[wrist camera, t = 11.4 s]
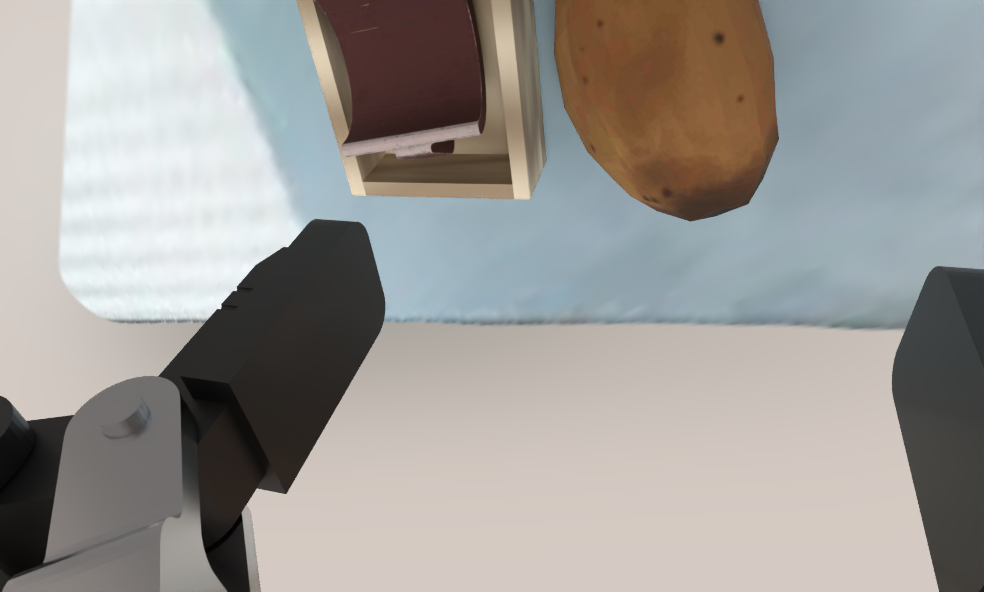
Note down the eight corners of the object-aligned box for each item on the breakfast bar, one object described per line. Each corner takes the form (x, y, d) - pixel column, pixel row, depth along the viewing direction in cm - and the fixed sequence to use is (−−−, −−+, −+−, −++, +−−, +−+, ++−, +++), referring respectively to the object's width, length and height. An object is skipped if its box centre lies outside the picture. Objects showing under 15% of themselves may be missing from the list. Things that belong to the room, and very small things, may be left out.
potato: (603, -84, 30) (744, -195, 23) (706, 183, 34) (857, 158, 26) (474, -33, 27) (592, -143, 20) (603, 254, 31) (742, 247, 23)
